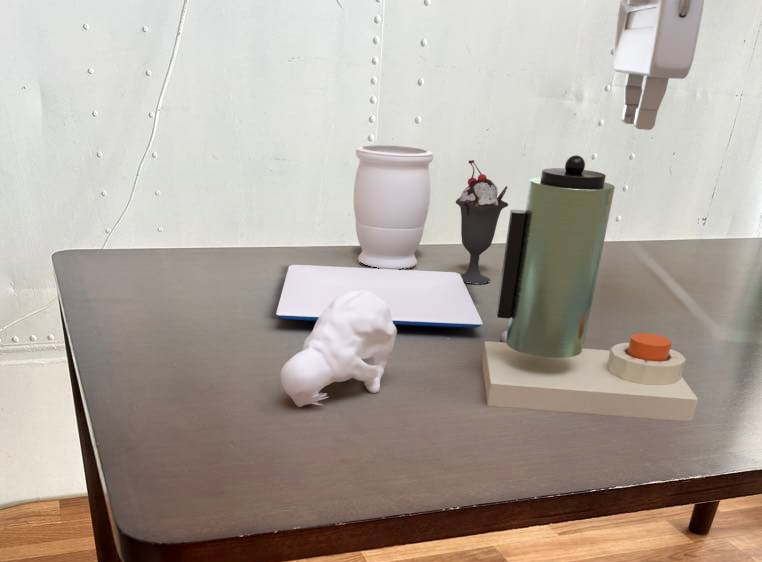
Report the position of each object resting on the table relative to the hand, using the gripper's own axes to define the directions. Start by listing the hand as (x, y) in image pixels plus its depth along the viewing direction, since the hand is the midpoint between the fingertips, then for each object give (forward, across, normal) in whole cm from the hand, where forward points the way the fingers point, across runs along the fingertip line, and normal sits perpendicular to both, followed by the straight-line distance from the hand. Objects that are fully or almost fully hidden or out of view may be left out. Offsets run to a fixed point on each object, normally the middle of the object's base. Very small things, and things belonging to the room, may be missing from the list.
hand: (636, 126), depth 85 cm
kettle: (+17, -21, +10) cm, 29 cm away
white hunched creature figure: (+21, -28, +28) cm, 45 cm away
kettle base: (+21, -22, +5) cm, 31 cm away
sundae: (+21, +18, +14) cm, 31 cm away
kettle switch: (+18, -22, -1) cm, 28 cm away
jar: (+21, +24, +26) cm, 41 cm away
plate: (+21, +1, +26) cm, 34 cm away
